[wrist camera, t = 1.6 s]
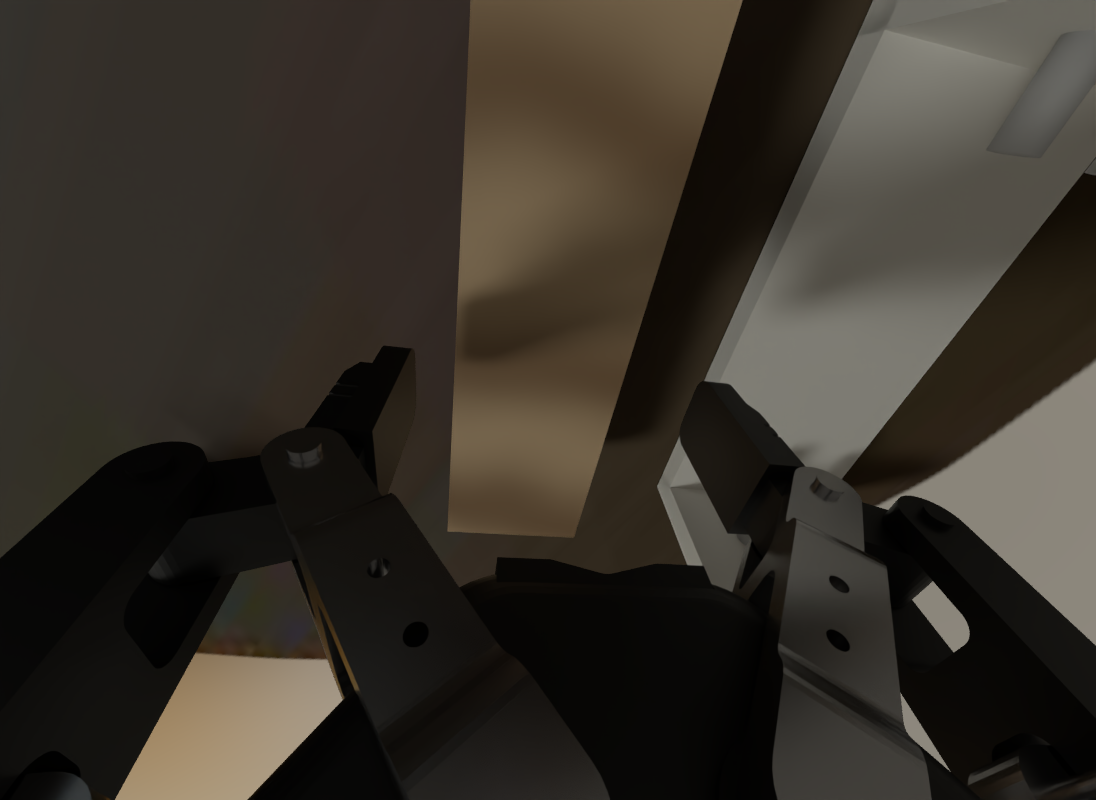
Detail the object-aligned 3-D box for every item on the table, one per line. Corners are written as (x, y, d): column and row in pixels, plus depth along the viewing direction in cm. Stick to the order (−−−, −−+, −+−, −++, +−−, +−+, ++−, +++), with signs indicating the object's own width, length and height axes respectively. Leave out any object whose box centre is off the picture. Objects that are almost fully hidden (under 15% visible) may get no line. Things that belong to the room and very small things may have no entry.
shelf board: (483, -56, 9) (475, -104, 7) (704, 1, 10) (750, -27, 8) (454, 487, 19) (447, 531, 17) (567, 494, 20) (573, 537, 18)
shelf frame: (879, -15, 13) (1280, -160, 6) (1131, 57, 14) (1673, 4, 7) (657, 486, 25) (708, 620, 18) (804, 496, 26) (901, 623, 20)
